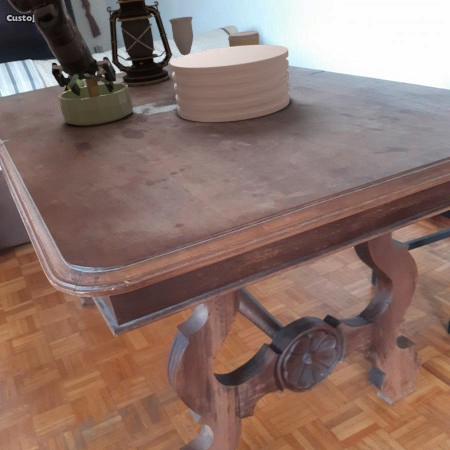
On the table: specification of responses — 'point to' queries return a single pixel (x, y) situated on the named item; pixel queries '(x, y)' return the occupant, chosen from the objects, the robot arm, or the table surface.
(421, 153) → the table surface
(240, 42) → the coffee cup
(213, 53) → the plate stack
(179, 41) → the chalice
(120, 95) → the bowl
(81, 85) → the edible corn
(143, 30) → the lantern
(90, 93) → the pestle
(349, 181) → the table surface
